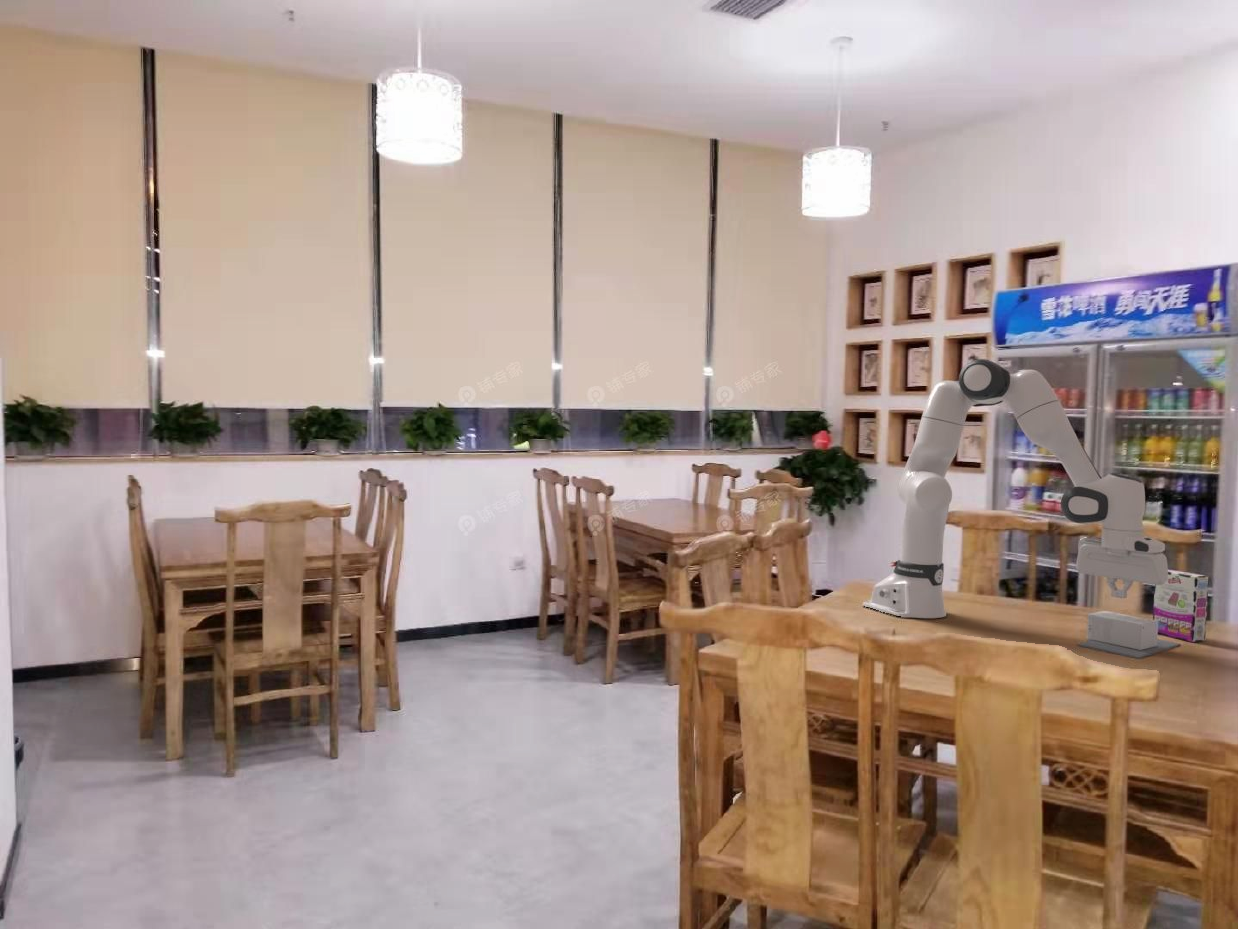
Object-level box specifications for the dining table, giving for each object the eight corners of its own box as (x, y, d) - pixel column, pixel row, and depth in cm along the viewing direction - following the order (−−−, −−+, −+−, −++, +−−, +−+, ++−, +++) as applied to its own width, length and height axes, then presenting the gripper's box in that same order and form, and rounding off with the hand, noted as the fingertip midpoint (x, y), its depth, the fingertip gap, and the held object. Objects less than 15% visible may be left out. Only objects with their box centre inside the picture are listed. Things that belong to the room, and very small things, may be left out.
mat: (1077, 645, 223) (1077, 643, 223) (1120, 633, 236) (1120, 631, 236) (1138, 658, 212) (1138, 657, 212) (1180, 645, 225) (1180, 643, 225)
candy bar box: (1206, 641, 230) (1210, 575, 229) (1192, 643, 228) (1196, 576, 227) (1164, 631, 240) (1168, 568, 239) (1150, 632, 238) (1154, 569, 237)
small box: (1085, 639, 228) (1140, 650, 217) (1087, 613, 228) (1141, 623, 217) (1103, 635, 233) (1157, 646, 222) (1104, 610, 232) (1159, 620, 222)
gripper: (1072, 536, 231) (1069, 591, 232) (1160, 547, 215) (1157, 606, 216) (1085, 534, 235) (1082, 588, 236) (1172, 545, 219) (1169, 603, 220)
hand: (1118, 597), depth 226 cm, fingers closed
